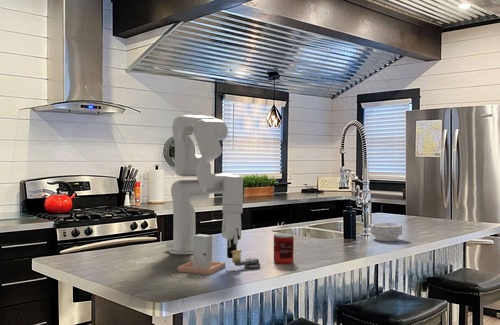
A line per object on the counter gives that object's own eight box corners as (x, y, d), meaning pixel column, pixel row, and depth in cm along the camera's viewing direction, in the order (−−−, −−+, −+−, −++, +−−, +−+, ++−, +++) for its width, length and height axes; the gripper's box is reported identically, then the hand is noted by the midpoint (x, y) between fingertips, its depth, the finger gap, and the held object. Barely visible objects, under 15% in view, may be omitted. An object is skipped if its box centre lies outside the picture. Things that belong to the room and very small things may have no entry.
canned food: (281, 259, 205) (281, 232, 205) (297, 262, 200) (297, 234, 200) (269, 262, 199) (269, 234, 199) (286, 265, 194) (286, 236, 194)
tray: (177, 271, 184) (177, 266, 184) (195, 264, 196) (195, 259, 196) (209, 274, 179) (209, 269, 179) (225, 267, 191) (225, 262, 191)
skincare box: (192, 268, 187) (192, 235, 187) (198, 265, 191) (198, 233, 191) (206, 269, 184) (206, 236, 184) (212, 267, 188) (212, 234, 188)
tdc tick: (229, 272, 182) (229, 271, 182) (228, 271, 183) (228, 270, 183) (234, 271, 184) (234, 270, 184) (232, 270, 184) (232, 270, 184)
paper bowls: (364, 240, 254) (364, 224, 254) (381, 236, 264) (381, 221, 264) (390, 243, 243) (390, 227, 243) (408, 240, 253) (408, 224, 253)
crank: (253, 260, 194) (253, 246, 194) (261, 263, 190) (261, 247, 190) (228, 265, 186) (228, 249, 186) (236, 267, 182) (236, 251, 182)
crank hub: (241, 268, 189) (241, 264, 189) (248, 265, 194) (248, 261, 194) (256, 269, 187) (256, 265, 187) (262, 266, 192) (262, 262, 192)
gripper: (217, 206, 194) (216, 254, 195) (228, 211, 180) (227, 262, 181) (236, 205, 196) (235, 252, 197) (248, 210, 182) (247, 261, 183)
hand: (231, 257), depth 189 cm, fingers closed
